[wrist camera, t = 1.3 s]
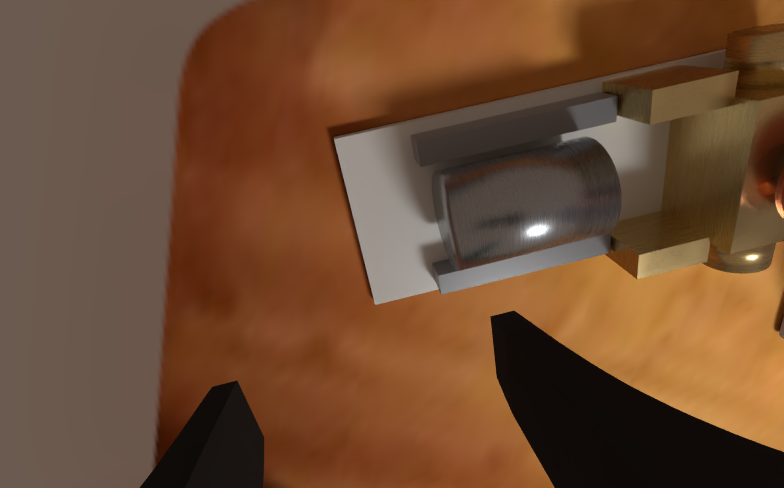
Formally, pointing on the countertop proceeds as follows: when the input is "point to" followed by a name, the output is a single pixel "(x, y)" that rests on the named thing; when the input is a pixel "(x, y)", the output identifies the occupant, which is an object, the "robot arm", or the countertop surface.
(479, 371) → the countertop surface
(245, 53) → the countertop surface
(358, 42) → the countertop surface
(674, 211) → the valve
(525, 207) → the metal cylinder
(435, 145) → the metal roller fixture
